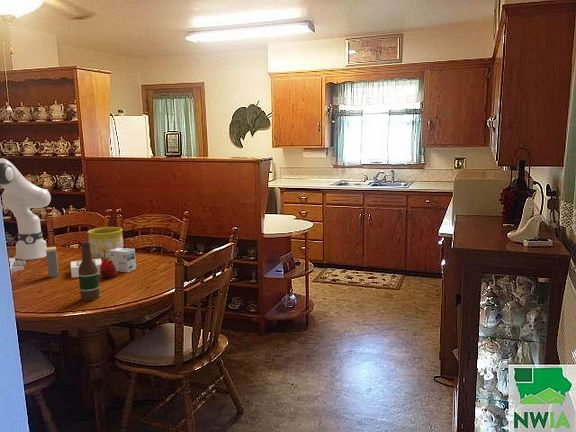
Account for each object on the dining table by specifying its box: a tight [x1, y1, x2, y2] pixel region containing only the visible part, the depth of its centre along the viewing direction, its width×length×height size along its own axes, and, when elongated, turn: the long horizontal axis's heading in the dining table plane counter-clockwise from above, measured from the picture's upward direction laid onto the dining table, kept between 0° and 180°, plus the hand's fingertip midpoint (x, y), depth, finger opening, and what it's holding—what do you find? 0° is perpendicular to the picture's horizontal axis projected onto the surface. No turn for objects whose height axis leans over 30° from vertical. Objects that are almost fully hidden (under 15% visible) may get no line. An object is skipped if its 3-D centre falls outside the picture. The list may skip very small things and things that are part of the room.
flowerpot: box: [87, 226, 124, 262], centre depth 259 cm, size 18×18×16 cm
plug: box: [46, 246, 59, 279], centre depth 229 cm, size 4×4×14 cm
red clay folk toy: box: [99, 249, 117, 280], centre depth 226 cm, size 8×7×15 cm
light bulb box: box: [110, 247, 137, 273], centre depth 238 cm, size 11×7×11 cm, turn 71°
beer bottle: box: [78, 241, 100, 302], centre depth 196 cm, size 8×8×24 cm
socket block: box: [70, 259, 102, 279], centre depth 235 cm, size 12×14×5 cm
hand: (24, 265), depth 224 cm, fingers open, 8 cm apart
